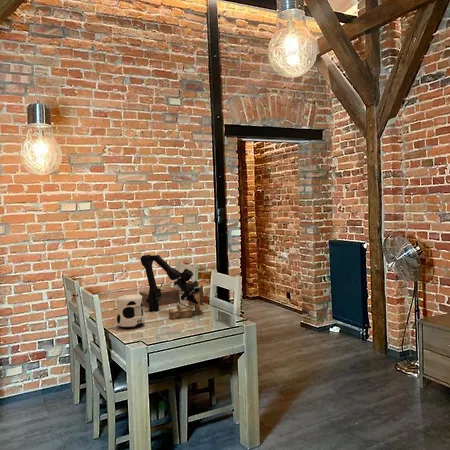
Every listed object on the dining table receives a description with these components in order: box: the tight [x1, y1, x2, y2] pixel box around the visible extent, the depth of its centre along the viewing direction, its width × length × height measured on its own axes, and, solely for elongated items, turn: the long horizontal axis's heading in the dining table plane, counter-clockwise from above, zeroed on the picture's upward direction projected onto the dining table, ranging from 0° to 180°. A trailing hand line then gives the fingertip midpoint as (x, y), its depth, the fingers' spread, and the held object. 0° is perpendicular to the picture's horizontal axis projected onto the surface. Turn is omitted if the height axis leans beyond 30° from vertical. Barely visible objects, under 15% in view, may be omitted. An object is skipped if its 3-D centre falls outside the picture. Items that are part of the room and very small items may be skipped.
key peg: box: [194, 293, 201, 312], centre depth 296 cm, size 4×4×14 cm
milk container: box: [115, 294, 146, 329], centre depth 273 cm, size 17×17×18 cm
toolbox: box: [168, 309, 204, 321], centre depth 292 cm, size 22×10×4 cm, turn 105°
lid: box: [168, 304, 195, 313], centre depth 290 cm, size 17×8×3 cm, turn 105°
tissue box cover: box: [139, 286, 181, 309], centre depth 333 cm, size 26×14×10 cm, turn 124°
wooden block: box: [187, 280, 204, 307], centre depth 323 cm, size 4×11×18 cm, turn 104°
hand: (199, 303), depth 295 cm, fingers open, 4 cm apart
